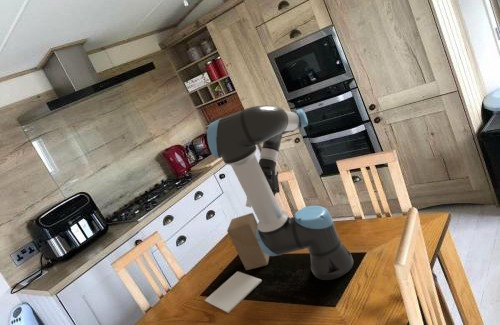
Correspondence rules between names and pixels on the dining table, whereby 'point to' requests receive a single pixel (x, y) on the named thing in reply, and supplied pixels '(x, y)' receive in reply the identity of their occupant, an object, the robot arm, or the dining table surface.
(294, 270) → the dining table surface
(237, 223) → the wooden block
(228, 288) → the grey mat
